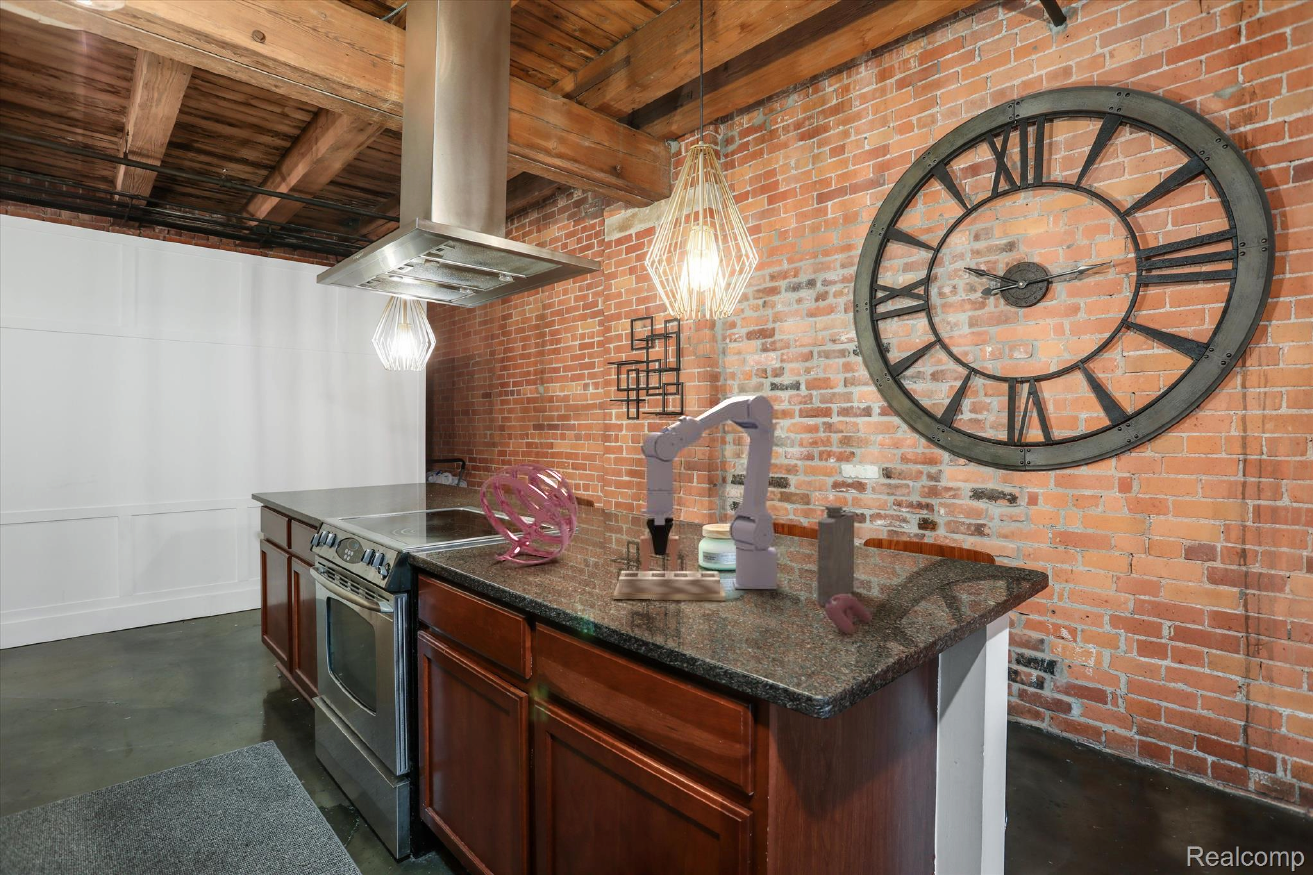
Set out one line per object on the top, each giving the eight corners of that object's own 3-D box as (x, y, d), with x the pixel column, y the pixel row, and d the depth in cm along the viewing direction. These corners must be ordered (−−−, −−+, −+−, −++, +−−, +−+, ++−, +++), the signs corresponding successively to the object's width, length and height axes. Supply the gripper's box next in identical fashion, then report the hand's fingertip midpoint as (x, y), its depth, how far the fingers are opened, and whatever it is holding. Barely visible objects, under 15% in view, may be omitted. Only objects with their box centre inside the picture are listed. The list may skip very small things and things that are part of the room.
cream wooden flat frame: (721, 586, 147) (721, 569, 147) (725, 600, 136) (725, 581, 136) (618, 585, 148) (618, 568, 148) (613, 599, 137) (613, 581, 137)
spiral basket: (489, 500, 151) (554, 433, 169) (434, 516, 170) (498, 454, 188) (558, 584, 159) (614, 512, 178) (498, 590, 178) (554, 525, 196)
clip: (678, 568, 137) (678, 536, 137) (678, 571, 134) (678, 538, 134) (641, 568, 137) (641, 536, 137) (640, 571, 134) (640, 538, 134)
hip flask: (829, 607, 132) (830, 511, 131) (810, 603, 134) (811, 509, 133) (855, 590, 144) (856, 502, 144) (838, 587, 147) (838, 500, 146)
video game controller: (854, 626, 124) (838, 592, 126) (874, 620, 122) (859, 585, 123) (832, 640, 117) (817, 603, 118) (854, 634, 114) (838, 596, 116)
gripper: (642, 485, 142) (642, 545, 143) (639, 493, 128) (639, 560, 128) (674, 485, 142) (674, 546, 143) (674, 493, 128) (674, 560, 128)
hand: (660, 553), depth 135 cm, fingers closed on clip, 3 cm apart
